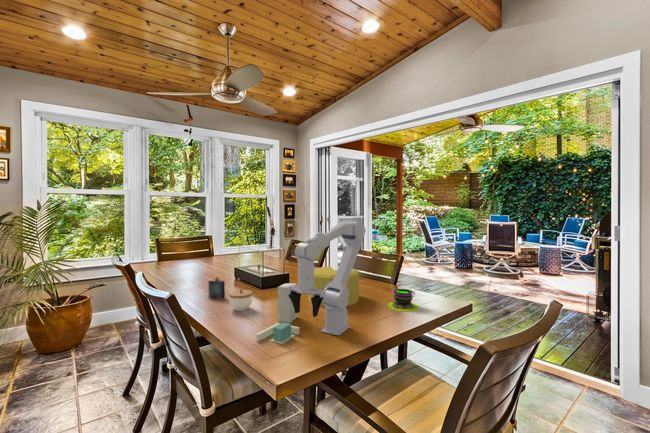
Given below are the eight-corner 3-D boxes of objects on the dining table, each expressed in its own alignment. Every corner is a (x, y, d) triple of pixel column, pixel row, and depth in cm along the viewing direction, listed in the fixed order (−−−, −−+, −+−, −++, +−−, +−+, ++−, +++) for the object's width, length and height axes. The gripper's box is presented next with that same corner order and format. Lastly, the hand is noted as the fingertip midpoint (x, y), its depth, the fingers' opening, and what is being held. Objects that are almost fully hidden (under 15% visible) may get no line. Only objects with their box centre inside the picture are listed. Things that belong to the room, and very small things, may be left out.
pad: (283, 333, 123) (283, 332, 123) (295, 336, 120) (295, 335, 120) (269, 340, 116) (269, 340, 116) (282, 344, 113) (281, 343, 113)
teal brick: (283, 334, 121) (283, 322, 121) (291, 335, 120) (291, 323, 119) (273, 339, 116) (273, 327, 116) (281, 341, 114) (281, 329, 114)
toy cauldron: (393, 312, 147) (393, 288, 147) (383, 302, 162) (383, 280, 161) (424, 310, 149) (425, 287, 149) (411, 301, 164) (411, 279, 164)
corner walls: (277, 328, 127) (277, 322, 127) (299, 333, 122) (299, 327, 122) (255, 340, 116) (255, 333, 116) (278, 347, 111) (278, 339, 111)
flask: (207, 297, 170) (207, 277, 170) (210, 295, 173) (210, 276, 173) (223, 298, 168) (223, 278, 168) (226, 297, 171) (226, 277, 170)
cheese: (343, 290, 185) (343, 264, 184) (368, 302, 161) (369, 273, 161) (301, 295, 174) (301, 268, 173) (321, 310, 150) (321, 278, 150)
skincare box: (290, 323, 133) (290, 287, 132) (277, 322, 135) (277, 286, 134) (298, 316, 141) (297, 283, 140) (285, 315, 143) (285, 282, 142)
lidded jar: (257, 307, 153) (257, 288, 153) (241, 314, 144) (241, 293, 143) (240, 304, 158) (240, 285, 158) (224, 310, 149) (223, 290, 149)
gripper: (282, 276, 115) (283, 314, 115) (317, 281, 107) (317, 321, 108) (294, 272, 121) (294, 308, 121) (328, 277, 114) (328, 315, 114)
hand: (306, 314), depth 115 cm, fingers open, 7 cm apart
